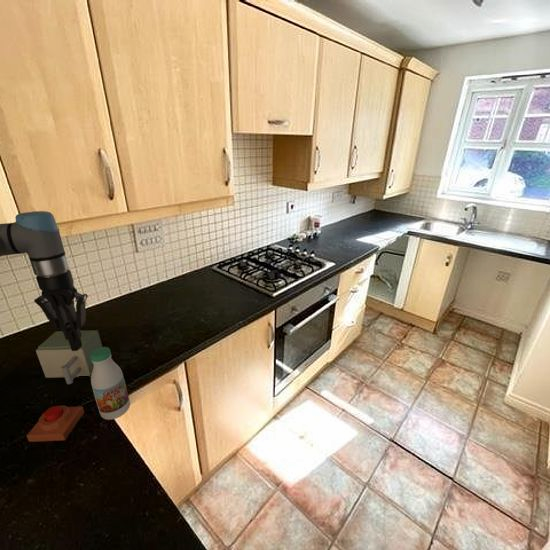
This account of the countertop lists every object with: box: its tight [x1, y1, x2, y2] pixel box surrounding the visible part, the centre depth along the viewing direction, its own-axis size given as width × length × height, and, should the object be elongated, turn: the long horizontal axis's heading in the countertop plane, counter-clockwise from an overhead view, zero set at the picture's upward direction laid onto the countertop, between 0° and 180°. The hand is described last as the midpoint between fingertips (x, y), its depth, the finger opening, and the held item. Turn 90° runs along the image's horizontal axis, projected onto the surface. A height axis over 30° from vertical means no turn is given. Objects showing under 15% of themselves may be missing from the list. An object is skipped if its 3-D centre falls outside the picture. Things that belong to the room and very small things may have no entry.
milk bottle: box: [90, 346, 131, 421], centre depth 82 cm, size 8×8×20 cm
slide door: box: [35, 348, 91, 385], centre depth 92 cm, size 14×7×10 cm, turn 92°
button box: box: [26, 405, 85, 443], centre depth 80 cm, size 9×9×4 cm
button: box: [43, 405, 62, 422], centre depth 79 cm, size 4×4×2 cm
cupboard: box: [37, 329, 103, 379], centre depth 100 cm, size 14×9×12 cm, turn 92°
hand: (77, 348), depth 87 cm, fingers closed
